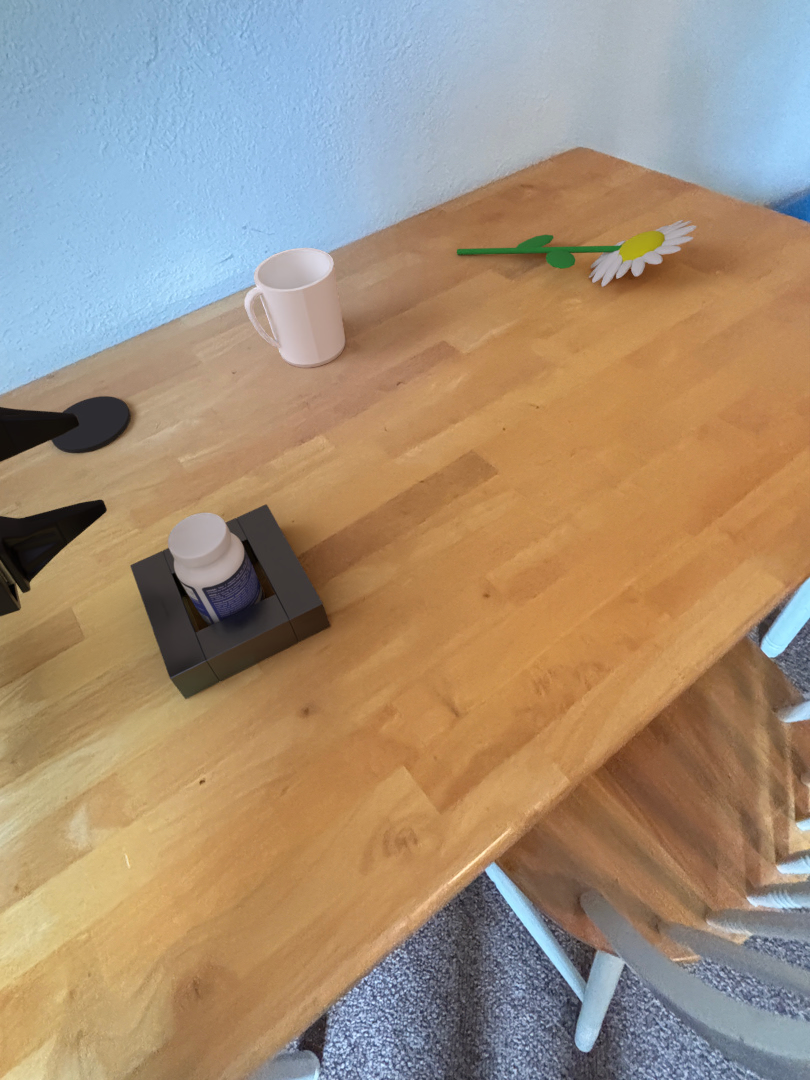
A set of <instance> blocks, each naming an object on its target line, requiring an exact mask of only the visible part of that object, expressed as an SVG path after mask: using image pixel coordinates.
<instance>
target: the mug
mask: <svg viewBox="0 0 810 1080" xmlns="http://www.w3.org/2000/svg"><path fill="white" fill-rule="evenodd" d="M336 276H337V275H336V269H335V263H334V259H333V257H332V256H331V255H330V254H329V253H328V252H326V251H324V250H321V249H318V248H313V247H298V248H297V247H296V248H291V249H285V250H283V251H279V252H277V253H274V254H272V255H271V256H268V257H267V258H265V259H264V260H262V261H261V262H260V263H259V264H258V265H257V267H256V268H255V270H254V272H253V280H254V285H255V286H256V287H253V288H251V289H250V290H248V292H247V293H246V294H245V297H244V309H245V311H246V312H245V313H246V314H247V318H248V319H249V321H250V322H251V324H252V326H253V327H254V329H255V331H256V332H257V333H258V334H259V336H260V337H261V338H262V339H263V340H264V341H266V342H267V344H269V345H270V346H271V347H272V346H273V347H275V348H277V349H278V352H279V356H280V357H281V358H282V360H283V361H284V362H285V363H286V364H288V365H290V366H293V367H295V368H300V369H301V368H302V369H309V368H315V367H316V368H317V367H322V366H323V365H327V364H329V363H330V362H333V361H334V360H336V359H337V358H338V357H339V356H340V355H342V353H343V351H344V349H345V346H346V343H347V342H346V335H345V328H344V321H343V316H342V309H341V301H340V297H339V289H338V281H337V277H336ZM258 297H259V298H260V301H261V304H262V306H263V309H264V313H265V315H266V318H267V321H268V324H269V327H270V329H271V333H272V335H273V337H272V336H271V335H269V334H268V333H267V331H265V329H264V327H263V326H262V324H261V323H260V321H259V319H258V318H257V315H256V313H255V309H254V303H255V300H256V299H257V298H258Z"/></svg>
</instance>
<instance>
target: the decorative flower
mask: <svg viewBox="0 0 810 1080" xmlns="http://www.w3.org/2000/svg"><path fill="white" fill-rule="evenodd" d="M692 222H693V221H692V220H687V221H684V219H680V220H678V221H675V222H674V223H672V224H670V225H669V224H668V225H667V224H666V225H663V226H661V227H658V228H657V229H655V230H647V231H644V232H640V233H637V234H636V235H634V236H632V237H630V238H629V239H627V240H621V241H619V242H617V243H616V244H614V245H575V246H546V245H548V244H550V243H552V241H553V240H554V235H553V234H541V235H536V236H534V237H530V238H528V239H526V240H524V241H522V242H520V243H519V244H517V246H516V247H483V248H482V247H480V248H479V247H477V248H473V247H471V248H457V249H456V255H457V256H467V255H468V256H473V255H475V256H478V255H535V254H537V255H538V254H539V255H540V254H542V255H543V254H546V255H545V261H546V264H548V265H550V266H551V267H552V268H556V269H559V270H560V269H561V270H563V269H569V268H572V267H573V266H575V263H576V257H575V255H574V254H591V253H592V254H594V253H595V254H599V253H601V255H599V256H598V258H596V259H595V260H594V261H593V263H591V265H590V266H589V268H590V269H591V270H592V269H593V270H592V271H591V272H590V273H589V276H588V279H591V278H592V279H591V280H592V281H591V283H592V284H594V283H597V282H598V281H600V280H601V279H602V280H601V283H600V285H601V287H602V288H604V287H606V286H608V284H610V282H611V281H612V280H613V278H614V277H615V279H621V278H622V277H623V276H624V275H625V274H627V272H628V271H629V270H630V269H631V273H632V275H633V276H634V277H639V276H641V275H642V274H643V272H644V270H645V267H646V264H649V265H659V264H662V262H663V261H664V260H663V255H665V256H666V255H673V254H675V253H678V252H680V251H681V250H682V247H681V246H679V245H683V244H686V243H688V242H691V241H692V240H693V239H694V237H693V236H691V235H688V234H690V233H691V232H693V231H695V230H696V228H697V227H698V226H697V225H690V224H691V223H692Z"/></svg>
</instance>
